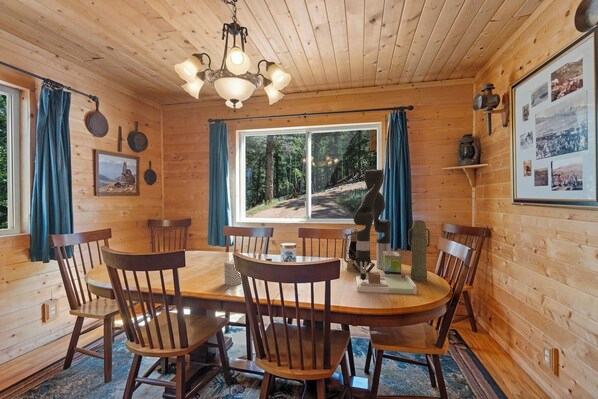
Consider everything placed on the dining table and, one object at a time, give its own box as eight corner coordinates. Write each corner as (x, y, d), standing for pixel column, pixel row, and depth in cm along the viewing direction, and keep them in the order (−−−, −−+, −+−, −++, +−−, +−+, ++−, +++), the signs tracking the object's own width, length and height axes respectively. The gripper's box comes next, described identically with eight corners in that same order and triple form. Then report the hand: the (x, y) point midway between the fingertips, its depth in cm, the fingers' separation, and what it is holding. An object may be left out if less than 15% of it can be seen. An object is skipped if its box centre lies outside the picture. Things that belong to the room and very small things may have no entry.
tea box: (401, 280, 174) (401, 255, 173) (384, 279, 176) (384, 255, 175) (398, 274, 188) (398, 250, 188) (382, 273, 190) (382, 250, 190)
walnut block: (368, 280, 166) (368, 271, 166) (379, 280, 165) (379, 271, 165) (368, 283, 161) (368, 274, 160) (380, 283, 160) (380, 274, 159)
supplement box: (235, 281, 176) (235, 259, 175) (242, 283, 170) (242, 261, 170) (224, 283, 170) (223, 261, 170) (231, 286, 165) (230, 263, 165)
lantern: (344, 271, 195) (344, 226, 194) (343, 267, 207) (342, 224, 206) (366, 272, 194) (366, 226, 193) (364, 267, 206) (364, 224, 205)
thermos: (406, 277, 181) (406, 220, 180) (427, 277, 179) (427, 220, 179) (410, 281, 172) (410, 221, 172) (431, 282, 170) (431, 221, 170)
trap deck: (355, 280, 175) (355, 273, 174) (408, 282, 170) (408, 275, 170) (357, 291, 155) (357, 283, 155) (416, 294, 150) (416, 286, 150)
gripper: (375, 247, 166) (374, 278, 167) (351, 247, 169) (351, 277, 169) (376, 250, 159) (376, 282, 159) (351, 249, 161) (351, 281, 161)
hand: (363, 279), depth 164 cm, fingers closed
